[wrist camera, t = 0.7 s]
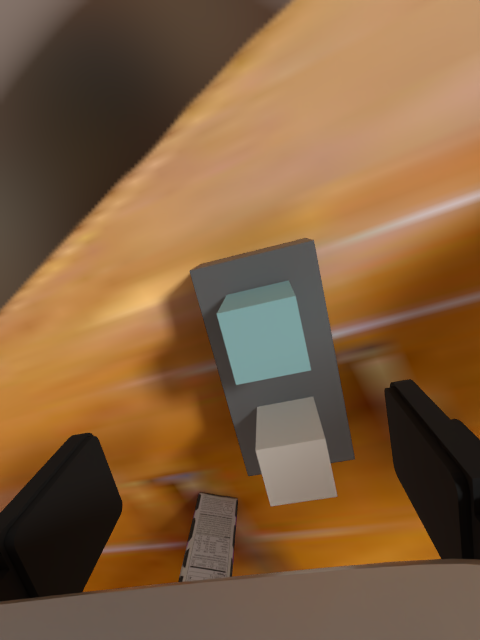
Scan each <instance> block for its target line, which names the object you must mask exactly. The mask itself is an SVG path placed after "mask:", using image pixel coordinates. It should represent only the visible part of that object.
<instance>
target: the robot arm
mask: <svg viewBox="0 0 480 640" xmlns="http://www.w3.org/2000/svg"><path fill="white" fill-rule="evenodd" d="M385 400H386V408H387V416H388V424H389V432H390V440H391V448H392V456H393V463H394V468H395V471H396V474H397V476H398V478H399V480H400V482H401V484H402V486H403V488H404V490H405V492H406V493H407V495H408V497H409V499H410V501H411V503H412V505H413V507H414V508H415V510H416V512H417V514H418V516H419V518H420V520H421V521H422V523H423V525H424V527H425V529H426V531H427V533H428V535H429V536H430V538H431V540H432V542H433V544H434V546H435V548H436V549H437V551H438V553H439V555H440V557H441V559H435V560H416V561H398V562H384V563H374V564H364V565H351V566H339V567H328V568H318V569H307V570H297V571H287V572H276V573H266V574H255V575H245V576H235V577H225V578H215V579H205V580H195V581H185V582H176V583H166V584H156V585H147V586H137V587H127V588H118V589H109V590H100V591H90V592H82V591H83V589H84V587H85V585H86V583H87V581H88V579H89V577H90V575H91V573H92V571H93V569H94V567H95V565H96V563H97V561H98V559H99V557H100V555H101V553H102V551H103V549H104V547H105V545H106V543H107V541H108V539H109V537H110V535H111V533H112V531H113V529H114V527H115V525H116V523H117V521H118V519H119V517H120V515H121V512H122V500H121V497H120V495H119V492H118V489H117V487H116V484H115V481H114V479H113V476H112V474H111V471H110V468H109V466H108V463H107V460H106V458H105V455H104V452H103V450H102V447H101V445H100V442H99V440H98V438H97V437H96V436H93V435H92V434H91V433H84V434H78V435H73V436H71V437H70V438H69V439H68V440H67V441H66V442H65V443H64V444H63V445H62V446H61V447H60V448H59V450H58V451H57V452H56V453H55V454H54V455H53V456H52V457H51V458H50V459H49V460H48V462H47V463H46V464H45V465H44V466H43V467H42V468H41V469H40V470H39V471H38V472H37V474H36V475H35V476H34V477H33V478H32V479H31V480H30V481H29V482H28V483H27V484H26V486H25V487H24V488H23V489H22V490H21V491H20V492H19V493H18V494H17V495H16V496H15V498H14V499H13V500H12V501H11V502H10V503H9V504H8V505H7V506H6V507H5V508H4V510H3V511H2V512H1V513H0V640H480V440H479V439H478V438H477V437H476V436H475V435H474V434H473V433H472V432H471V431H470V430H469V429H468V428H467V427H466V426H465V425H464V424H463V423H462V422H461V421H459V420H457V419H451V420H450V419H449V418H448V417H447V416H446V415H445V414H444V412H443V411H442V410H441V409H440V408H439V407H438V406H437V405H436V404H435V403H434V402H433V401H432V400H431V399H430V398H429V397H428V396H427V395H426V394H425V393H424V392H423V391H422V390H421V389H420V388H419V387H418V386H417V385H416V383H415V382H414V381H413V380H411V379H409V380H403V381H397V382H391V384H390V388H385Z"/></svg>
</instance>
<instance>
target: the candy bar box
mask: <svg viewBox="0 0 480 640" xmlns="http://www.w3.org/2000/svg"><path fill="white" fill-rule="evenodd" d="M237 507H238V499H237V498H233V497H228V496H219V495H213V494H207V493H199V495H198V499H197V504H196V508H195V512H194V516H193V520H192V525H191V529H190V533H189V538H188V542H187V546H186V551H185V555H184V560H183V564H182V568H181V573H180V577H179V582H185V581H195V580H205V579H215V578H225V577H232V569H233V557H234V544H235V531H236V519H237Z"/></svg>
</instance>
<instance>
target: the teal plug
mask: <svg viewBox="0 0 480 640" xmlns="http://www.w3.org/2000/svg"><path fill="white" fill-rule="evenodd" d="M217 317H218V321H219V325H220V328H221V332H222V336H223V339H224V343H225V346H226V350H227V354H228V357H229V361H230V365H231V368H232V372H233V376H234V379H235V383H236V385H239V384H244V383H249V382H254V381H259V380H264V379H269V378H275V377H280V376H285V375H290V374H295V373H300V372H305V371H310V370H311V367H310V362H309V357H308V352H307V347H306V343H305V338H304V333H303V328H302V324H301V319H300V314H299V309H298V305H297V300H296V296H295V293H294V291H293V289H292V287H291V284H290V282H289V280H288V281H284V282H280V283H275V284H271V285H267V286H263V287H258V288H254V289H250V290H245V291H241V292H237V293H233V294H228V295H226V297H225V299H224V301H223V303H222V305H221V307H220V308H219V310H218V312H217Z"/></svg>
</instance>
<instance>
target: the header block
mask: <svg viewBox="0 0 480 640" xmlns="http://www.w3.org/2000/svg"><path fill="white" fill-rule="evenodd" d="M190 274H191V278H192V281H193V285H194V288H195V292H196V295H197V299H198V302H199V306H200V309H201V313H202V316H203V320H204V323H205V327H206V330H207V334H208V337H209V341H210V344H211V348H212V351H213V354H214V358H215V361H216V365H217V368H218V372H219V375H220V379H221V382H222V386H223V389H224V393H225V396H226V400H227V403H228V407H229V410H230V414H231V417H232V421H233V424H234V428H235V431H236V435H237V438H238V442H239V445H240V449H241V452H242V456H243V459H244V463H245V466H246V470H247V473H248V476H253V475H259V474H262V476H263V480H264V484H265V487H266V491H267V495H268V498H269V502H270V505H271V506H277V505H284V504H290V503H297V502H304V501H311V500H318V499H325V498H331V497H337V492H336V487H335V482H334V478H333V473H332V468H331V463H334V462H341V461H347V460H353V459H355V457H354V451H353V446H352V441H351V435H350V430H349V425H348V419H347V414H346V409H345V404H344V398H343V393H342V388H341V382H340V377H339V372H338V366H337V361H336V356H335V350H334V345H333V340H332V334H331V329H330V324H329V318H328V313H327V308H326V303H325V297H324V292H323V287H322V281H321V276H320V271H319V265H318V260H317V255H316V249H315V244H314V240H311V239H308V238H304V239H300V240H296V241H292V242H288V243H283V244H279V245H275V246H271V247H267V248H263V249H259V250H255V251H251V252H247V253H243V254H239V255H235V256H231V257H227V258H223V259H219V260H215V261H211V262H207V263H203V264H200V265H198V266H197V267H195V268H194V269H192V270H190ZM288 280H289V282H290V284H291V287H292V289H293V291H294V293H295V296H296V300H297V305H298V309H299V314H300V319H301V324H302V328H303V333H304V338H305V343H306V347H307V352H308V357H309V362H310V367H311V370H310V371H305V372H300V373H295V374H290V375H285V376H280V377H275V378H269V379H264V380H259V381H254V382H249V383H244V384H239V385H236V383H235V379H234V376H233V372H232V368H231V365H230V361H229V357H228V354H227V350H226V346H225V343H224V339H223V336H222V332H221V328H220V325H219V321H218V317H217V312H218V310H219V308H220V307H221V305H222V303H223V301H224V299H225V297H226V295H228V294H233V293H237V292H241V291H245V290H250V289H254V288H258V287H263V286H267V285H271V284H275V283H280V282H284V281H288Z"/></svg>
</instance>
